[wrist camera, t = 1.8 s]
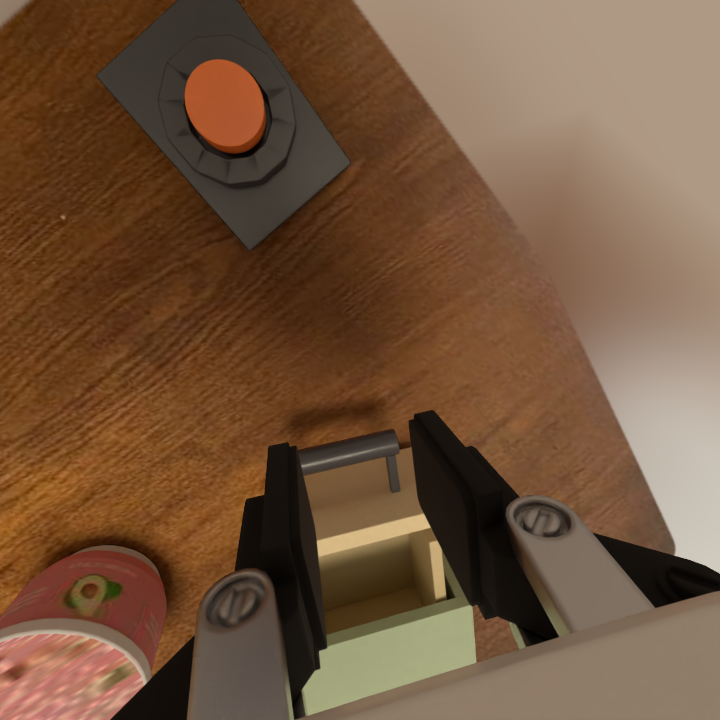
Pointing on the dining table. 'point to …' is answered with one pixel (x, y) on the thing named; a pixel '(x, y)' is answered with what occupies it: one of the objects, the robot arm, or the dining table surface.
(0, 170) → the dining table surface
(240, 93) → the button
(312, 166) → the button box
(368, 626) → the cabinet
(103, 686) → the container
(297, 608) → the robot arm
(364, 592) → the drawer
